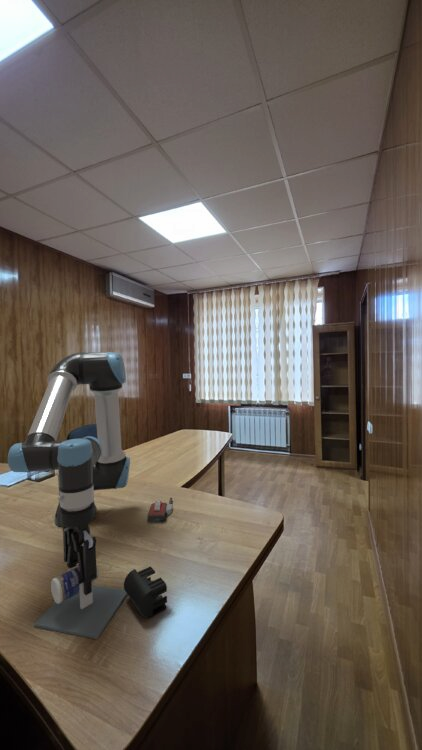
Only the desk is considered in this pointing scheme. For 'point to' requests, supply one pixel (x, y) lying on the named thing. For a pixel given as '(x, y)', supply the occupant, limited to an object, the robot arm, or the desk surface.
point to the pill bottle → (67, 585)
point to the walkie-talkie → (159, 512)
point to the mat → (83, 613)
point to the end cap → (146, 592)
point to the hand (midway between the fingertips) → (80, 598)
